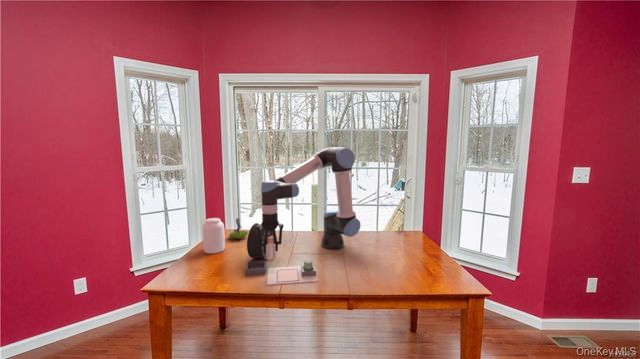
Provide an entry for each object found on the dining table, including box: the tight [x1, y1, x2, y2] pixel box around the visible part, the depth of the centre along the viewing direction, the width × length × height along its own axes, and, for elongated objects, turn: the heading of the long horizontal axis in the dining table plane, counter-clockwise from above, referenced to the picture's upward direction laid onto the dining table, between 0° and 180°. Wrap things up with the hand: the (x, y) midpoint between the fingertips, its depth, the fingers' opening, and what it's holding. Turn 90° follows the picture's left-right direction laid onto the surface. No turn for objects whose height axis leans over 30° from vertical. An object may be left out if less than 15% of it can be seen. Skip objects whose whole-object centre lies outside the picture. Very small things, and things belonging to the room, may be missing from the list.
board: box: [266, 265, 318, 286], centre depth 135 cm, size 24×17×1 cm
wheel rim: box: [246, 222, 275, 260], centre depth 156 cm, size 20×9×20 cm, turn 168°
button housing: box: [300, 264, 317, 277], centre depth 137 cm, size 7×7×2 cm
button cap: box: [303, 260, 314, 271], centre depth 136 cm, size 4×4×4 cm
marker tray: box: [244, 259, 267, 276], centre depth 140 cm, size 10×10×3 cm
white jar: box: [202, 217, 226, 255], centre depth 166 cm, size 12×12×20 cm
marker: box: [267, 237, 275, 263], centre depth 134 cm, size 3×3×12 cm
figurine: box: [228, 217, 249, 240], centre depth 188 cm, size 14×13×15 cm
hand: (271, 257), depth 135 cm, fingers closed on marker, 3 cm apart
